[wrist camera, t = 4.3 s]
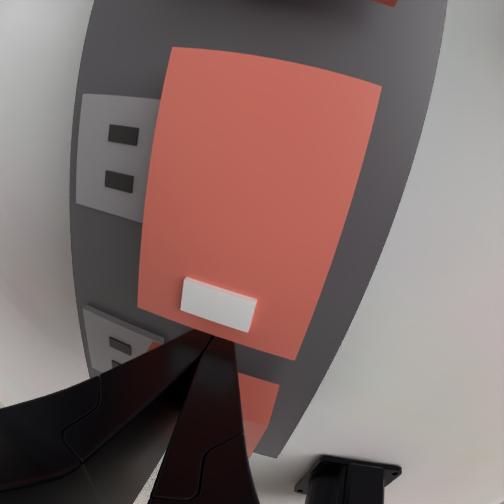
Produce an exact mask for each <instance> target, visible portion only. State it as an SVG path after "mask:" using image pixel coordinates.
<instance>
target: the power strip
mask: <svg viewBox="0 0 504 504" xmlns="http://www.w3.org/2000/svg"><path fill="white" fill-rule="evenodd" d="M446 7H447V0H398V1H397V3H396V5H395V8H394V7H391V6H387V5H384V4H381V3H378V2H375V1H371V0H94V4H93V8H92V11H91V15H90V20H89V24H88V28H87V33H86V37H85V42H84V47H83V52H82V58H81V64H80V70H79V76H78V83H77V90H76V98H75V106H74V116H73V127H72V140H71V157H70V232H71V250H72V264H73V275H74V285H75V293H76V302H77V309H78V316H79V323H80V329H81V335H82V341H83V346H84V352H85V357H86V362H87V367H88V371H89V376H90V378H92V377H95V376H99V375H100V374H101V373H103V372H106V371H108V370H110V369H112V368H114V367H116V366H118V365H121V364H123V363H125V362H127V361H129V360H131V359H133V358H135V357H137V356H139V355H142V354H144V353H146V352H147V350H148V348H149V347H150V345H151V343H152V342H153V341H154V342H156V343H159V344H161V345H162V344H164V343H166V342H168V341H170V340H172V339H174V338H176V337H178V336H180V335H182V334H184V333H186V332H188V331H190V330H192V329H194V328H191V327H189V326H186V325H183V324H180V323H178V322H175V321H172V320H170V319H167V318H164V317H162V316H159V315H156V314H154V313H151V312H149V311H146V310H144V309H141V308H139V307H137V306H138V282H139V265H140V250H141V238H142V226H143V216H144V207H145V198H146V189H147V181H148V174H149V166H150V159H151V153H152V146H153V140H154V134H155V128H156V122H157V117H158V111H159V106H160V101H161V96H162V91H163V86H164V81H165V77H166V72H167V68H168V63H169V59H170V55H171V50H172V47H183V48H197V49H208V50H218V51H227V52H235V53H242V54H249V55H256V56H262V57H268V58H273V59H279V60H284V61H289V62H294V63H298V64H303V65H307V66H312V67H316V68H320V69H324V70H328V71H332V72H336V73H339V74H343V75H347V76H350V77H354V78H357V79H360V80H364V81H367V82H370V83H373V84H376V85H379V86H382V89H381V93H380V97H379V102H378V106H377V110H376V114H375V118H374V122H373V126H372V130H371V134H370V137H369V141H368V145H367V149H366V152H365V156H364V160H363V163H362V167H361V170H360V174H359V177H358V181H357V184H356V188H355V191H354V194H353V198H352V201H351V204H350V207H349V211H348V214H347V217H346V220H345V223H344V227H343V230H342V233H341V236H340V239H339V242H338V245H337V248H336V251H335V254H334V257H333V260H332V263H331V266H330V268H329V271H328V274H327V277H326V280H325V283H324V285H323V288H322V291H321V294H320V297H319V299H318V302H317V305H316V307H315V310H314V313H313V315H312V318H311V321H310V323H309V326H308V328H307V331H306V334H305V336H304V339H303V341H302V344H301V346H300V349H299V351H298V354H297V356H296V359H295V361H294V360H290V359H287V358H284V357H280V356H277V355H273V354H270V353H267V352H263V351H260V350H257V349H254V348H251V347H247V346H244V345H241V344H238V343H235V349H236V359H237V369H238V372H239V373H242V374H245V375H248V376H251V377H255V378H258V379H261V380H264V381H268V382H271V383H275V384H278V385H280V386H279V389H278V393H277V397H276V400H275V404H274V407H273V411H272V414H271V417H270V421H269V424H268V427H267V429H266V430H265V432H264V434H263V436H262V437H261V439H260V441H259V442H258V444H257V446H256V447H255V449H254V451H253V452H254V453H258V454H261V455H265V456H269V457H273V458H277V457H278V455H279V454H280V452H281V451H282V449H283V448H284V446H285V444H286V443H287V441H288V439H289V438H290V436H291V435H292V433H293V431H294V430H295V428H296V426H297V424H298V423H299V421H300V419H301V418H302V416H303V414H304V412H305V411H306V409H307V407H308V405H309V404H310V402H311V400H312V398H313V397H314V395H315V393H316V391H317V389H318V387H319V386H320V384H321V382H322V380H323V378H324V376H325V374H326V372H327V371H328V369H329V367H330V365H331V363H332V361H333V359H334V357H335V355H336V353H337V351H338V349H339V347H340V345H341V343H342V341H343V339H344V337H345V335H346V333H347V330H348V328H349V326H350V324H351V322H352V320H353V318H354V315H355V313H356V311H357V309H358V307H359V304H360V302H361V300H362V298H363V295H364V293H365V291H366V289H367V286H368V284H369V281H370V279H371V277H372V274H373V272H374V270H375V267H376V265H377V262H378V260H379V257H380V255H381V252H382V250H383V247H384V244H385V242H386V239H387V237H388V234H389V231H390V229H391V226H392V223H393V220H394V218H395V215H396V212H397V209H398V206H399V203H400V200H401V197H402V194H403V191H404V188H405V185H406V182H407V179H408V176H409V173H410V170H411V166H412V163H413V160H414V156H415V153H416V150H417V146H418V143H419V139H420V135H421V132H422V128H423V124H424V120H425V117H426V113H427V109H428V104H429V100H430V96H431V92H432V87H433V83H434V78H435V73H436V68H437V63H438V58H439V52H440V47H441V41H442V35H443V29H444V22H445V15H446Z"/></svg>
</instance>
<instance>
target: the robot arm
mask: <svg viewBox="0 0 504 504" xmlns="http://www.w3.org/2000/svg"><path fill="white" fill-rule="evenodd" d="M166 449H167V450H166ZM165 451H166V452H165ZM164 453H165V455H164V458H163V461H162V464H161V466H160V469H159V472H158V475H157V478H156V480H155V483H154V486H153V489H152V492H151V494H150V499H149V500H148V503H147V504H260V502H259V499H258V496H257V493H256V490H255V486H254V482H253V478H252V474H251V470H250V466H249V460H248V454H247V448H246V440H245V435H244V424H243V415H242V406H241V397H240V388H239V378H238V369H237V359H236V349H235V342H233V341H230V340H227V339H223V338H220V337H217V336H214V335H211V334H209V333H206V332H203V331H200V330H197V329H192V330H190V331H188V332H186V333H184V334H182V335H180V336H178V337H176V338H174V339H172V340H170V341H168V342H166V343H164V344H162V345H160V346H158V347H156V348H154V349H152V350H150V351H148V352H146V353H144V354H142V355H139V356H137V357H135V358H133V359H131V360H129V361H127V362H125V363H123V364H121V365H118V366H116V367H114V368H112V369H110V370H108V371H106V372H103V373H101V374H100V375H99V376H95V377H92V378H90V379H88V380H86V381H83V382H81V383H79V384H76V385H74V386H71V387H69V388H67V389H64V390H61V391H58V392H55V393H52V394H49V395H46V396H43V397H39V398H36V399H33V400H29V401H26V402H22V403H19V404H15V405H12V406H8V407H4V408H0V504H133V503H134V501H135V499H136V498H137V496H138V495H139V493H140V491H141V490H142V488H143V487H144V485H145V483H146V482H147V480H148V479H149V477H150V475H151V474H152V472H153V471H154V469H155V467H156V466H157V464H158V462H159V461H160V459H161V458H162V456H163V454H164ZM401 473H402V468H401V467H399V466H390V465H381V464H373V463H366V462H359V461H353V460H347V459H341V458H335V457H330V456H323V457H321V458H319V460H318V461H317V462H316V463H315V464H314V465H313V467H312V468H311V469H310V470H309V471H308V472H307V473H306V475H305V476H304V477H303V478H302V479H301V480H300V481H299V482H298V483H297V485H296V486H295V489H294V491H295V492H297V493H302V494H307V495H306V501H305V504H384V487H386V486H387V485H388V484H389V483H391V482H392V481H393V480H394V479H396V478H397V477H398V476H399V475H401Z"/></svg>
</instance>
